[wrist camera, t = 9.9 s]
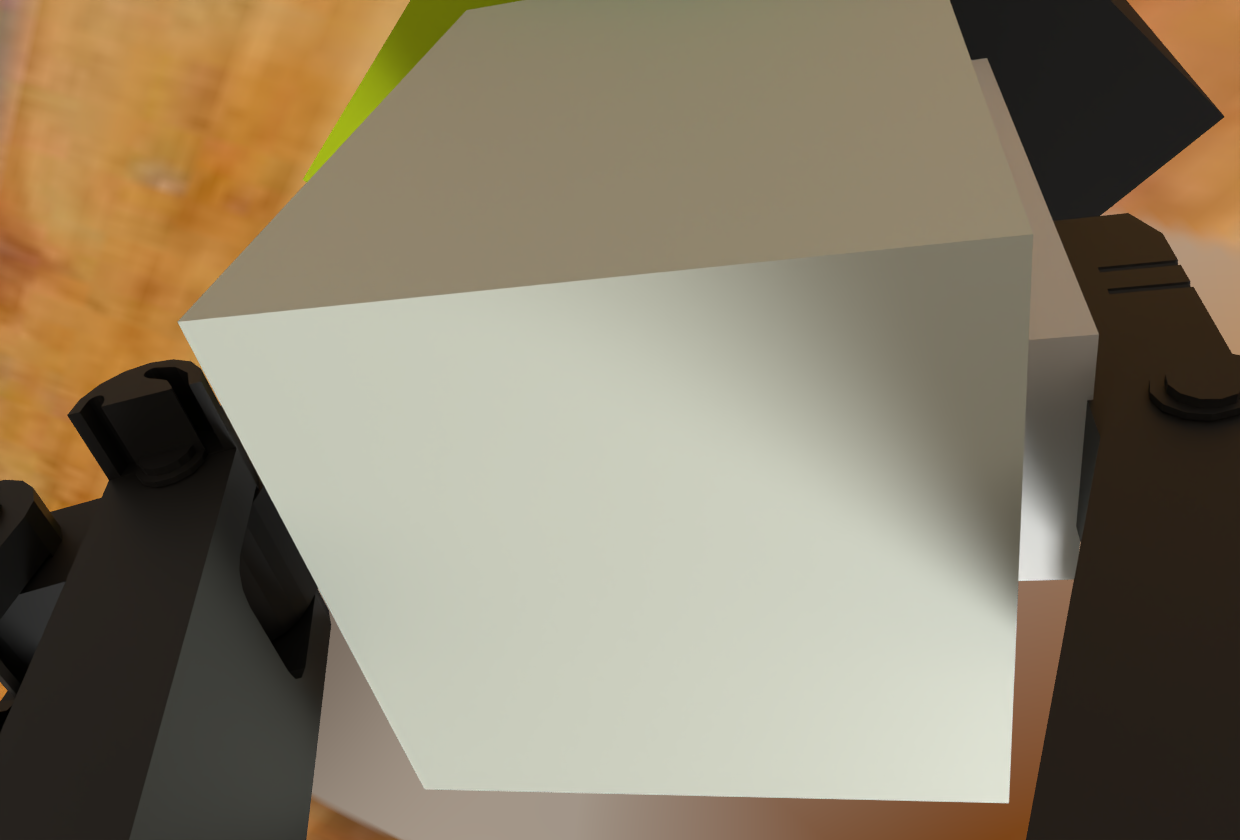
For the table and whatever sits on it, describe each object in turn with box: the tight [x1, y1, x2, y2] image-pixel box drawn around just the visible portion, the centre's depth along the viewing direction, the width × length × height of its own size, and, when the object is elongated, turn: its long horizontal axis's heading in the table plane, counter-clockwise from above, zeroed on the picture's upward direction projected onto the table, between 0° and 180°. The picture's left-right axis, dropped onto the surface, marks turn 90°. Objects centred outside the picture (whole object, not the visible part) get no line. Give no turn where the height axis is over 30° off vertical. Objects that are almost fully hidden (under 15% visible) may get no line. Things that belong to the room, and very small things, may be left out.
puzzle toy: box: [303, 0, 1224, 221], centre depth 20 cm, size 10×10×10 cm
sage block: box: [178, 0, 1033, 803], centre depth 12 cm, size 6×6×8 cm
